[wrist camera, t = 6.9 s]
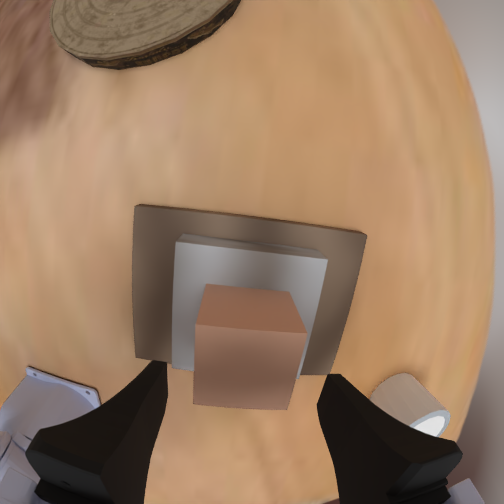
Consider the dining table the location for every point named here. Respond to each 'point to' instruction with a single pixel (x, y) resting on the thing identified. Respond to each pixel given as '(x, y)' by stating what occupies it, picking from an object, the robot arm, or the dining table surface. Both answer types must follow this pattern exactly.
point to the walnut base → (239, 226)
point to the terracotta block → (247, 348)
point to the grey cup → (411, 404)
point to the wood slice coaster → (134, 28)
